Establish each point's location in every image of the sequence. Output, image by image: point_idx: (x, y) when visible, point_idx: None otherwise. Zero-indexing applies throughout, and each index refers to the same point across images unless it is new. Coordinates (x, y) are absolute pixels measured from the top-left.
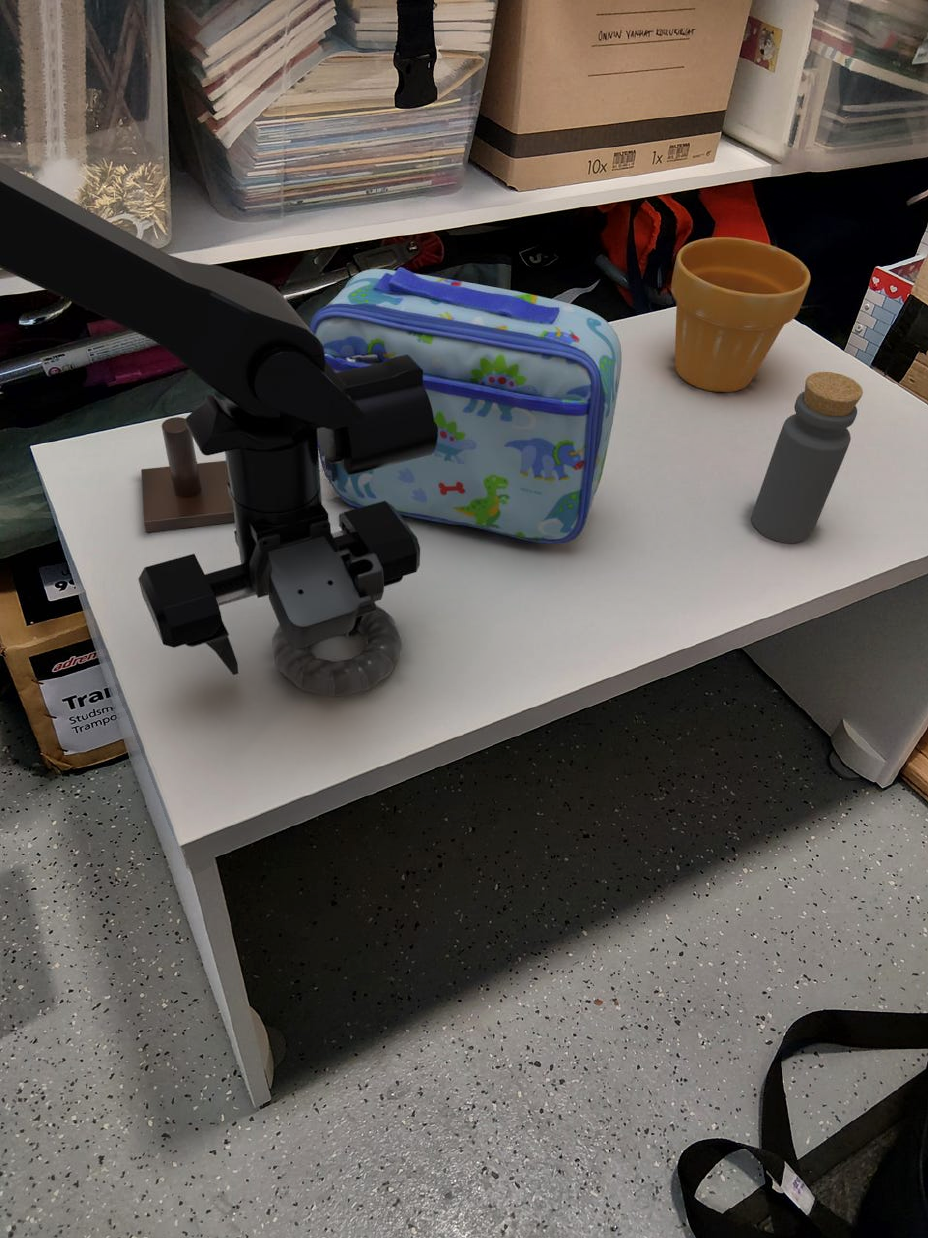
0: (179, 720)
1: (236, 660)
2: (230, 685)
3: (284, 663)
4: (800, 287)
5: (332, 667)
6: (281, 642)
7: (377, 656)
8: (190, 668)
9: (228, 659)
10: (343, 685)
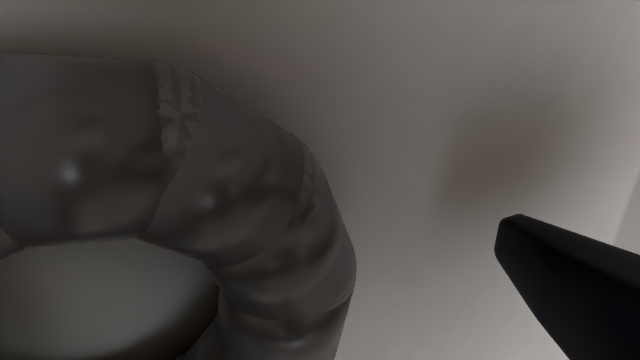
0: (606, 103)
1: (579, 260)
2: (455, 197)
3: (345, 247)
4: None
5: (159, 195)
6: (334, 336)
7: None
8: None
9: (629, 264)
10: (104, 82)
